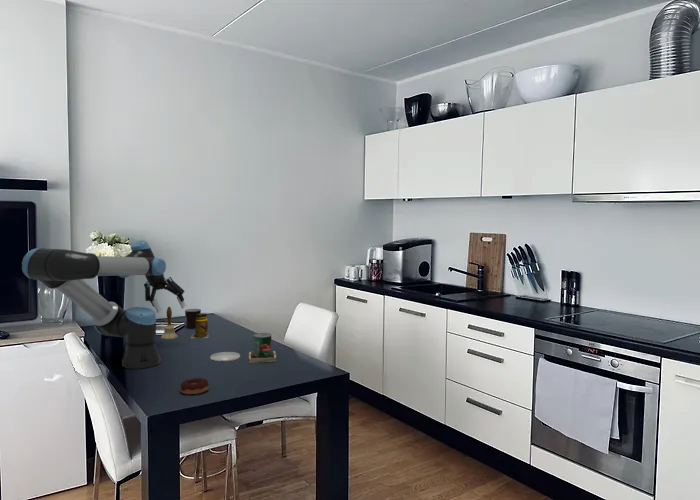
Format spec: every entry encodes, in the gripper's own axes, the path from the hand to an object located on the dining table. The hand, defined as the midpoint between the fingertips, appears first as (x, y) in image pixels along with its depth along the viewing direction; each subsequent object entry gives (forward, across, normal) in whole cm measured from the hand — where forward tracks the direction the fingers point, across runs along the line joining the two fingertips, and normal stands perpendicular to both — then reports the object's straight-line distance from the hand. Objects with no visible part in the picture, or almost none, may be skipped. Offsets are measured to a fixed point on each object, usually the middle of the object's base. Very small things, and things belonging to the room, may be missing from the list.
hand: (171, 309), depth 242 cm
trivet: (+18, -30, +21) cm, 40 cm away
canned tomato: (+22, -46, +20) cm, 55 cm away
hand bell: (+20, +14, -6) cm, 25 cm away
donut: (+2, -39, +60) cm, 72 cm away
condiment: (+25, 0, -10) cm, 27 cm away
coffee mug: (+30, +15, -29) cm, 44 cm away
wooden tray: (+22, -46, +20) cm, 55 cm away
